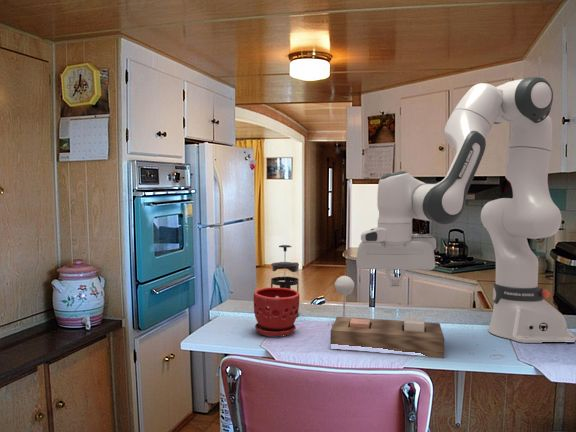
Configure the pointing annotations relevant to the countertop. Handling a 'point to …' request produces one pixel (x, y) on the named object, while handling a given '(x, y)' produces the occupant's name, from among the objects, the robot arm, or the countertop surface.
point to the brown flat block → (390, 336)
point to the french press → (287, 280)
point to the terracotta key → (360, 323)
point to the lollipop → (344, 288)
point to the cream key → (413, 324)
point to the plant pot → (276, 310)
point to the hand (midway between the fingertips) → (395, 286)
